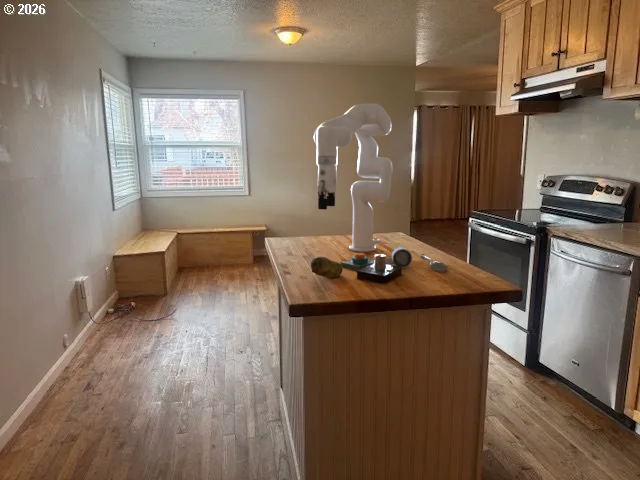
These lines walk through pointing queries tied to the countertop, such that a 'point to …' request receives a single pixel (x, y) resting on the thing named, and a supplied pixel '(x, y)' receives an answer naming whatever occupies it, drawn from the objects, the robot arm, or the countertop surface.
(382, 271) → the hob console
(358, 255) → the button
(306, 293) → the countertop surface
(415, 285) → the countertop surface
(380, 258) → the knob
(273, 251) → the countertop surface
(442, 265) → the soupspoon
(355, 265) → the block
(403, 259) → the ceramic mug
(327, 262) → the potato
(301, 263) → the countertop surface
